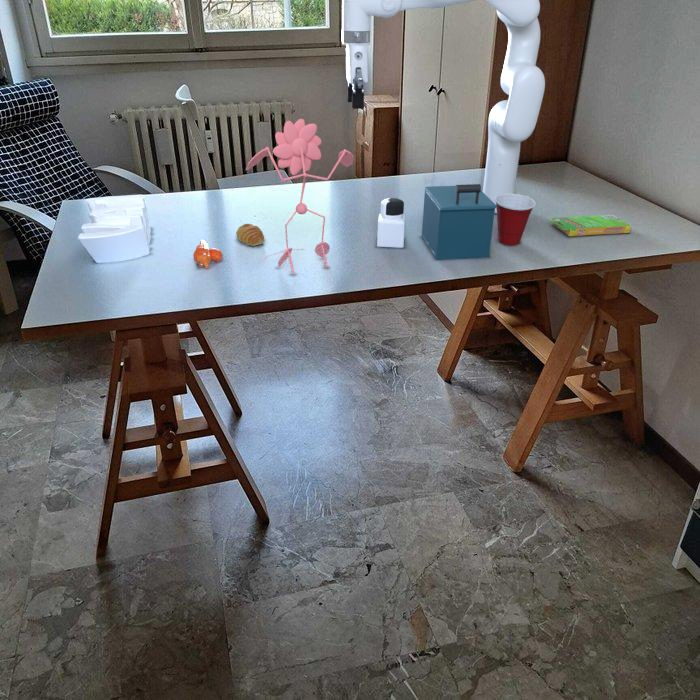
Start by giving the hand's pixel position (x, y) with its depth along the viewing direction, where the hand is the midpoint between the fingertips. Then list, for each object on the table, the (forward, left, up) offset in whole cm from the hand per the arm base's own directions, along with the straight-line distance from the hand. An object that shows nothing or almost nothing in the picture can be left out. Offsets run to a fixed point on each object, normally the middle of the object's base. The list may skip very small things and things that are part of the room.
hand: (355, 105), depth 186 cm
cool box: (-23, +31, -31) cm, 49 cm away
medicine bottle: (-6, +26, -31) cm, 41 cm away
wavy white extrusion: (+66, +19, -31) cm, 75 cm away
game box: (-65, +22, -31) cm, 75 cm away
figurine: (+19, +36, -31) cm, 51 cm away
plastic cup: (-39, +29, -31) cm, 58 cm away
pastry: (+31, +20, -31) cm, 48 cm away
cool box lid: (-23, +31, -18) cm, 42 cm away
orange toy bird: (+42, +34, -32) cm, 63 cm away
